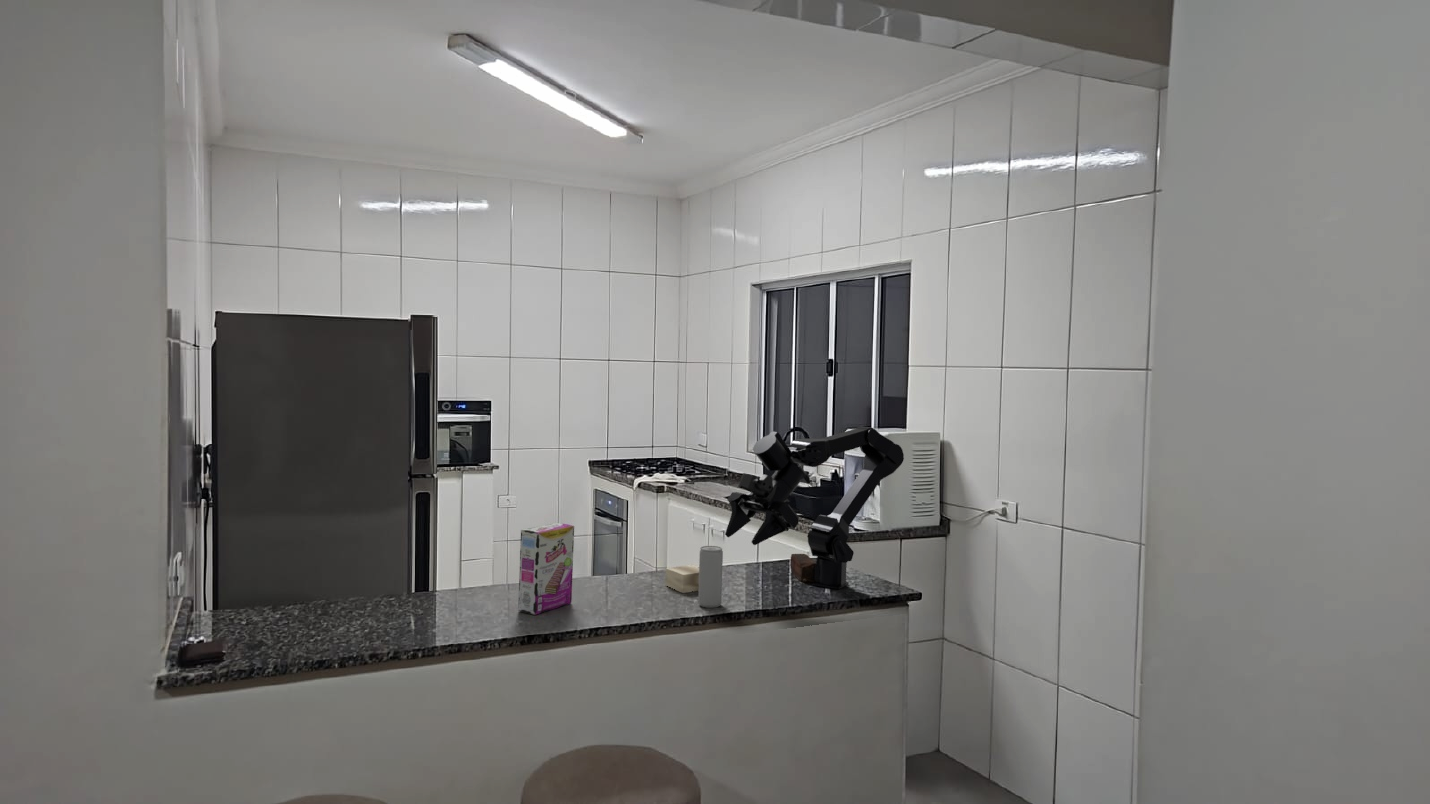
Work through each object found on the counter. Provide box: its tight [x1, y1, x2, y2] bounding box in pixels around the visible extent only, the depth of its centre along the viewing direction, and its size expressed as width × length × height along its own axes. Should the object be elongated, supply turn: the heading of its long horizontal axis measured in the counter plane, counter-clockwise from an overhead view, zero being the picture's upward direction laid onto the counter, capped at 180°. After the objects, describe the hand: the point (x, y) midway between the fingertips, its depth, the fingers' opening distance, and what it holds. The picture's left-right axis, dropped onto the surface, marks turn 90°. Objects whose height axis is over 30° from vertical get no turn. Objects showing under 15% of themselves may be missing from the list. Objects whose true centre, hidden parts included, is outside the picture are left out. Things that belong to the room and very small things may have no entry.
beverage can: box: [698, 545, 724, 609], centre depth 183 cm, size 5×5×12 cm
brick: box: [789, 553, 816, 583], centre depth 210 cm, size 11×4×5 cm, turn 10°
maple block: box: [665, 564, 699, 594], centre depth 197 cm, size 7×7×4 cm
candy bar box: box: [517, 522, 575, 616], centre depth 178 cm, size 11×5×16 cm, turn 149°
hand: (739, 539), depth 187 cm, fingers open, 9 cm apart
